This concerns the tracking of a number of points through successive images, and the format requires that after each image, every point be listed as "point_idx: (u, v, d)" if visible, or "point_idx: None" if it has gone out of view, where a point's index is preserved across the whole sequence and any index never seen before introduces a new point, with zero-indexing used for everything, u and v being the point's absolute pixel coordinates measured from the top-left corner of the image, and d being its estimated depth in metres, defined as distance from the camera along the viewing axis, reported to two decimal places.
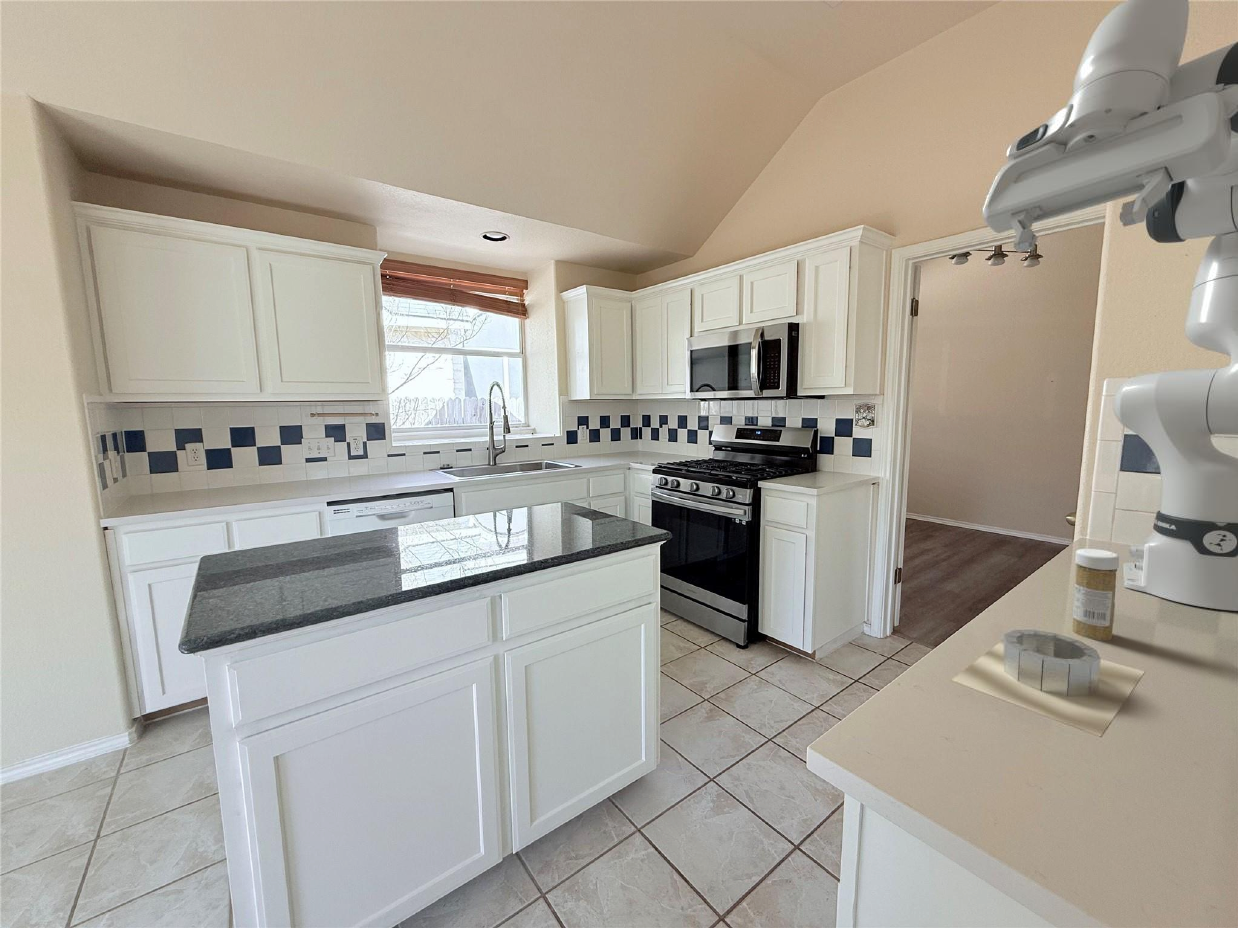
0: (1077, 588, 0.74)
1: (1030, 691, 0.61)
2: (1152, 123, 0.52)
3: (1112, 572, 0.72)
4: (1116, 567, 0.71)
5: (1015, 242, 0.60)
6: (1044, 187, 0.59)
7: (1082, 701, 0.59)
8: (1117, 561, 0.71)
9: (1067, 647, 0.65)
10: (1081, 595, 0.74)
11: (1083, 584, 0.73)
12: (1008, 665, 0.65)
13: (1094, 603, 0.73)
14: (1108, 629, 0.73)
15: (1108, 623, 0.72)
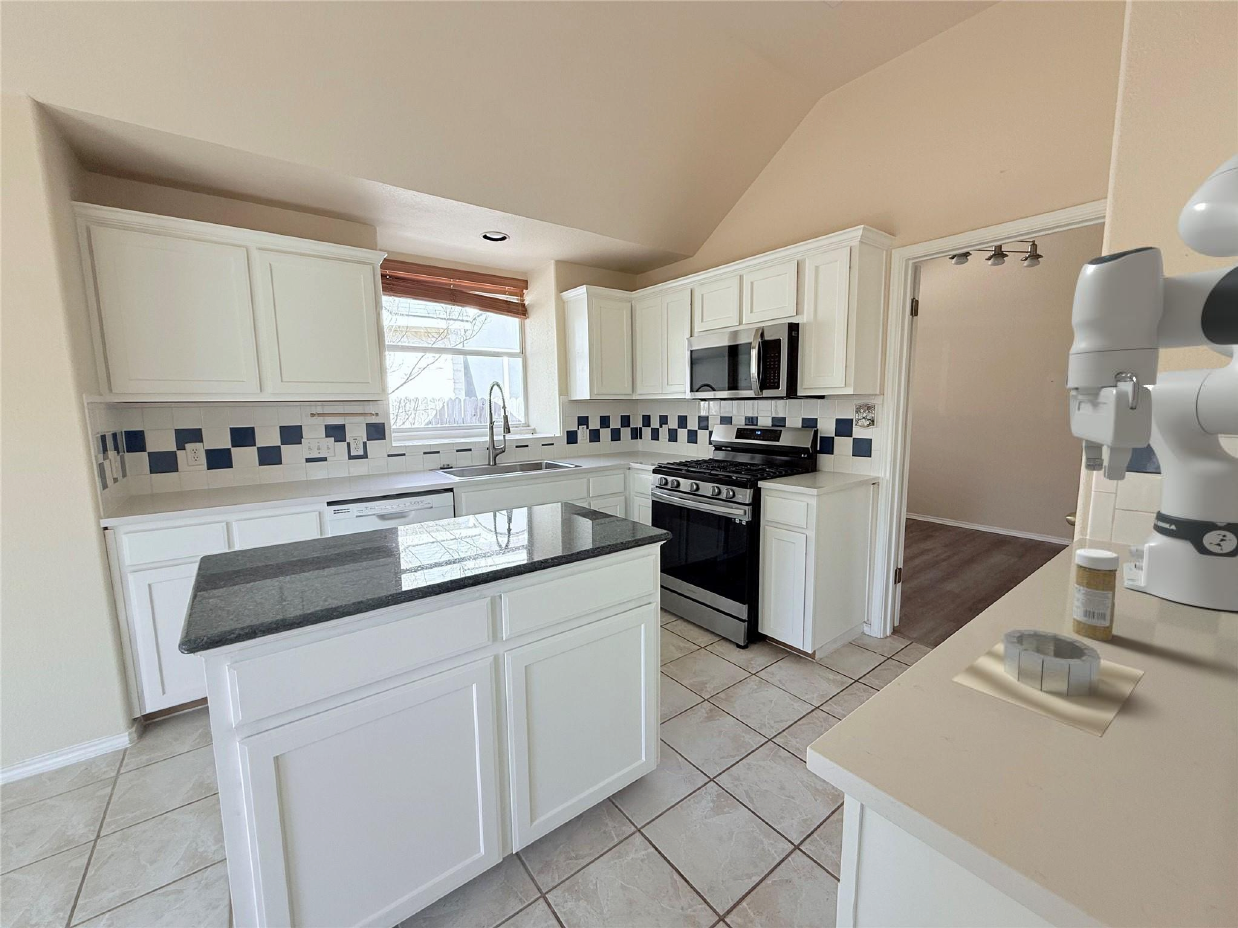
0: (1077, 588, 0.74)
1: (1030, 691, 0.61)
2: (1101, 401, 0.67)
3: (1112, 572, 0.72)
4: (1116, 567, 0.71)
5: None
6: (1082, 427, 0.74)
7: (1082, 701, 0.59)
8: (1117, 561, 0.71)
9: (1067, 647, 0.65)
10: (1081, 595, 0.74)
11: (1083, 584, 0.73)
12: (1008, 665, 0.65)
13: (1094, 603, 0.73)
14: (1108, 629, 0.73)
15: (1108, 623, 0.72)
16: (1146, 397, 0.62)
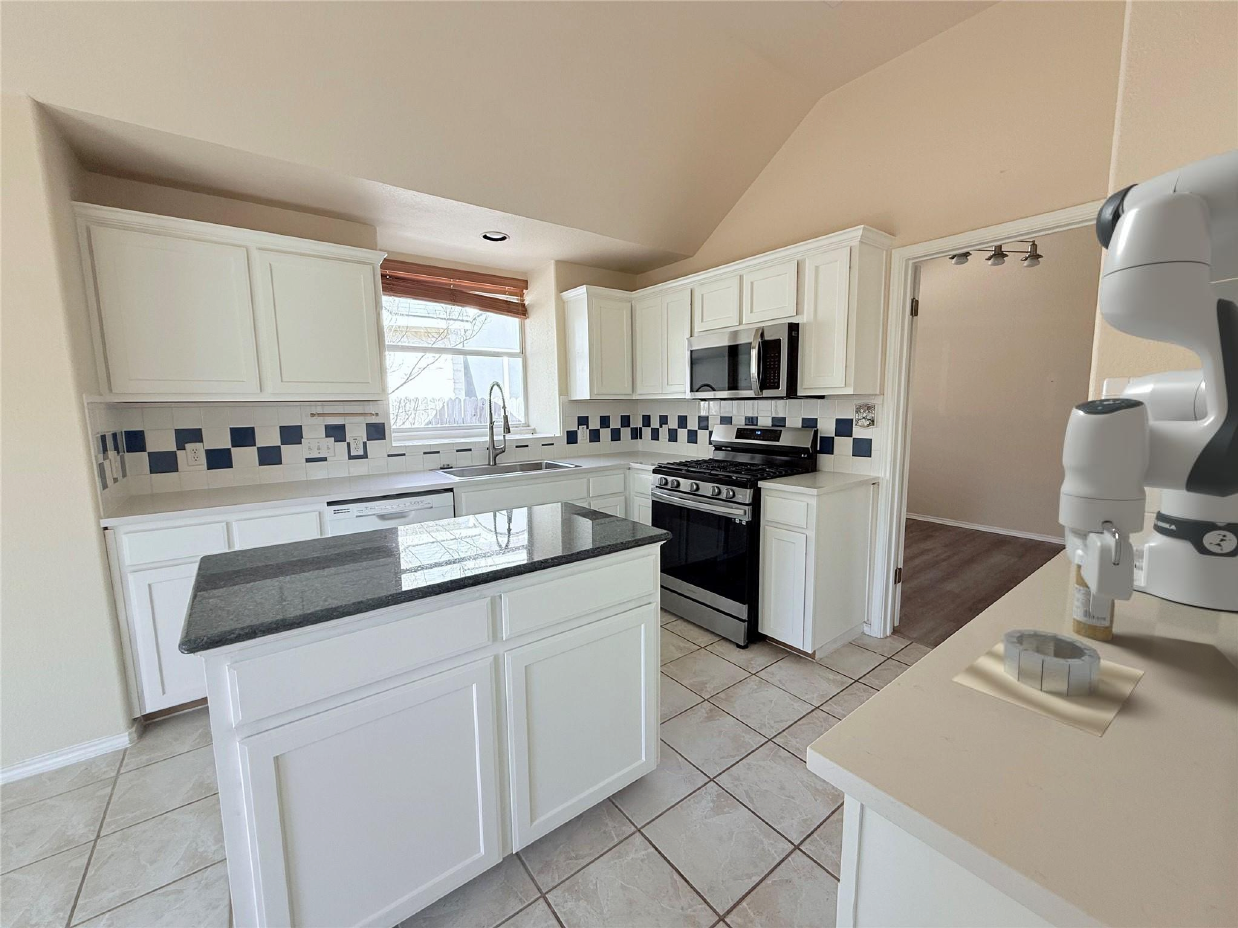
0: (1077, 588, 0.74)
1: (1030, 691, 0.61)
2: (1089, 546, 0.70)
3: None
4: None
5: None
6: (1074, 556, 0.78)
7: (1082, 701, 0.59)
8: None
9: (1067, 647, 0.65)
10: (1081, 595, 0.74)
11: (1083, 584, 0.73)
12: (1008, 665, 0.65)
13: None
14: (1108, 629, 0.73)
15: (1108, 623, 0.72)
16: (1128, 554, 0.65)
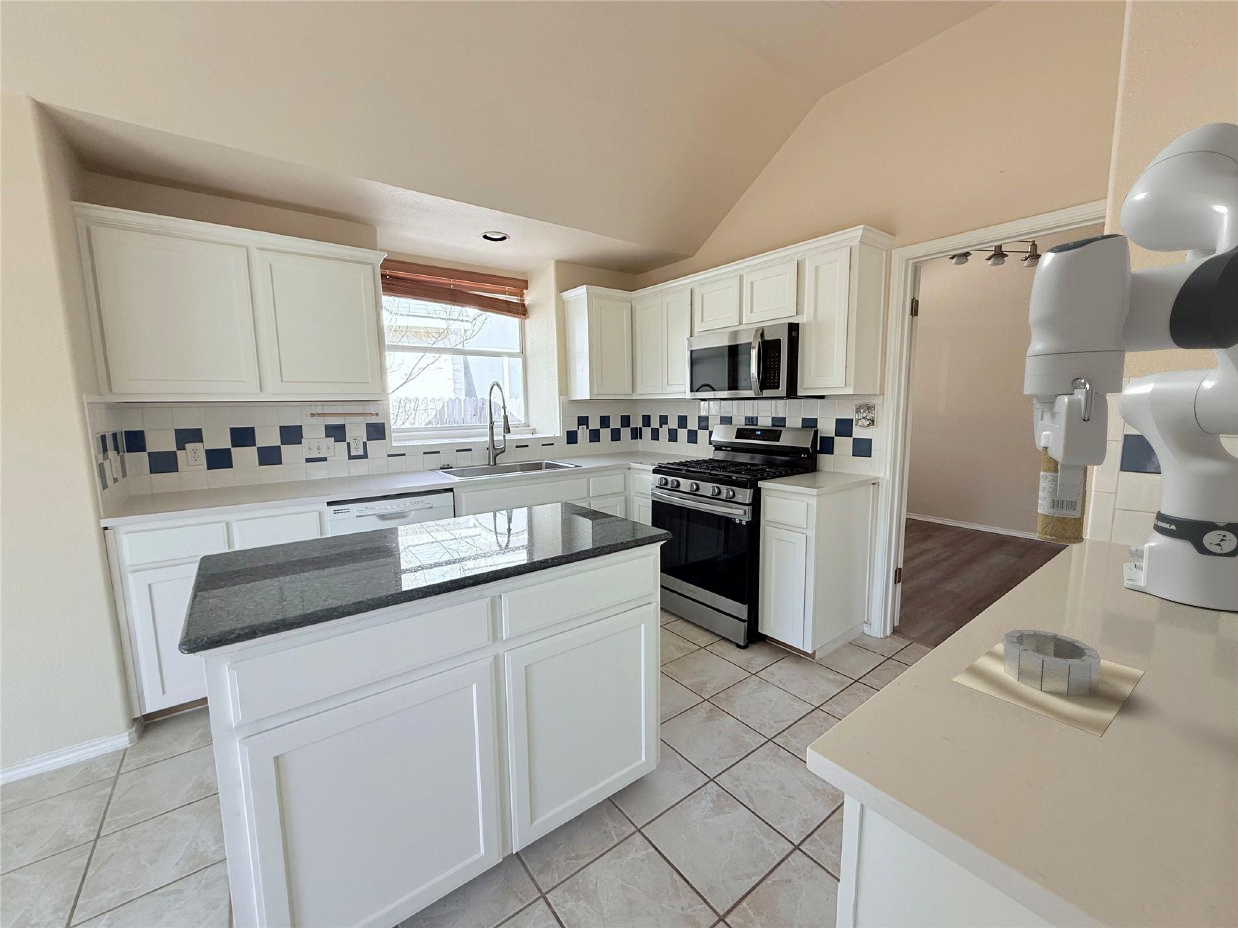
0: (1043, 476, 0.63)
1: (1030, 691, 0.61)
2: (1056, 410, 0.58)
3: None
4: None
5: None
6: None
7: (1082, 701, 0.59)
8: None
9: (1067, 647, 0.65)
10: (1048, 482, 0.62)
11: (1051, 468, 0.62)
12: (1008, 665, 0.65)
13: None
14: (1079, 522, 0.61)
15: (1079, 514, 0.61)
16: (1101, 407, 0.53)
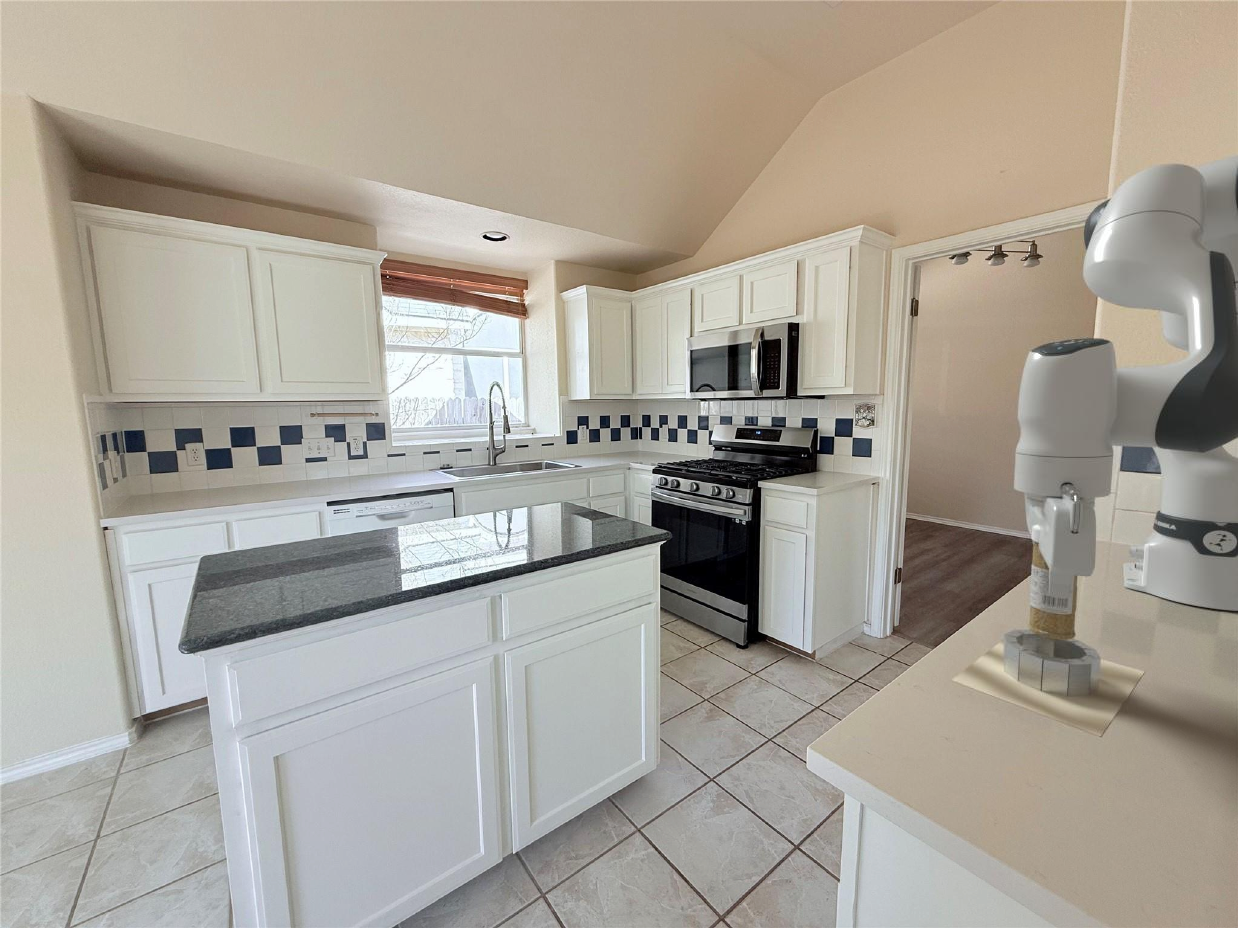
0: (1034, 570, 0.63)
1: (1030, 691, 0.61)
2: (1046, 513, 0.59)
3: None
4: None
5: None
6: None
7: (1082, 701, 0.59)
8: None
9: (1067, 647, 0.65)
10: (1040, 578, 0.62)
11: (1041, 564, 0.62)
12: (1008, 665, 0.65)
13: None
14: (1070, 618, 0.61)
15: (1070, 611, 0.61)
16: (1089, 520, 0.53)
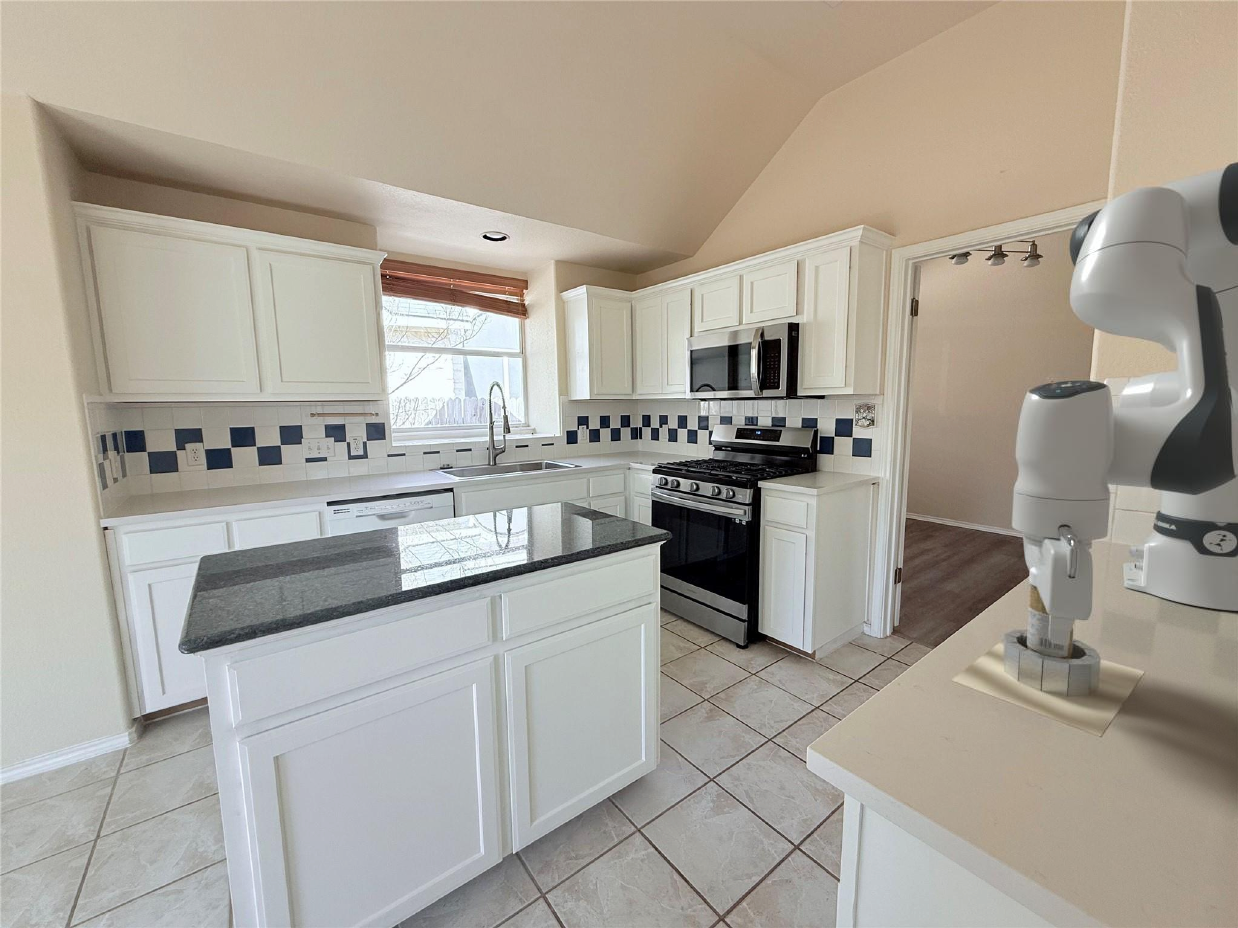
0: (1032, 612, 0.64)
1: (1030, 691, 0.61)
2: (1043, 554, 0.59)
3: None
4: None
5: None
6: (1031, 565, 0.67)
7: (1082, 701, 0.59)
8: None
9: None
10: (1036, 620, 0.64)
11: (1038, 608, 0.63)
12: (1008, 665, 0.65)
13: None
14: None
15: (1066, 653, 0.63)
16: (1086, 565, 0.54)
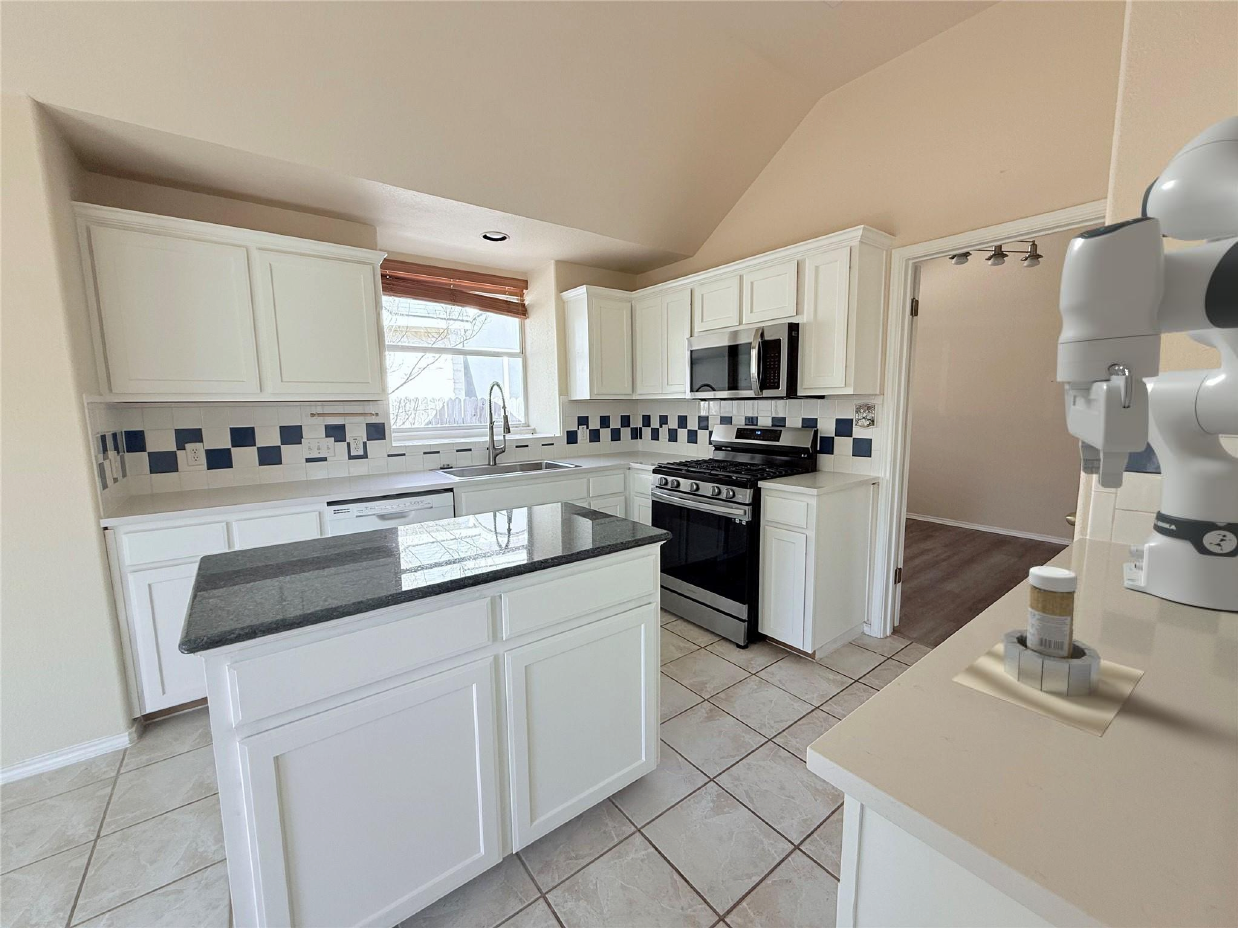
0: (1031, 612, 0.64)
1: (1030, 691, 0.61)
2: (1093, 397, 0.58)
3: (1070, 594, 0.62)
4: (1074, 588, 0.62)
5: (1081, 469, 0.67)
6: (1077, 425, 0.66)
7: (1082, 701, 0.59)
8: (1075, 581, 0.62)
9: None
10: (1036, 620, 0.64)
11: (1038, 608, 0.63)
12: (1008, 665, 0.65)
13: (1051, 630, 0.63)
14: None
15: (1066, 653, 0.63)
16: (1141, 393, 0.53)
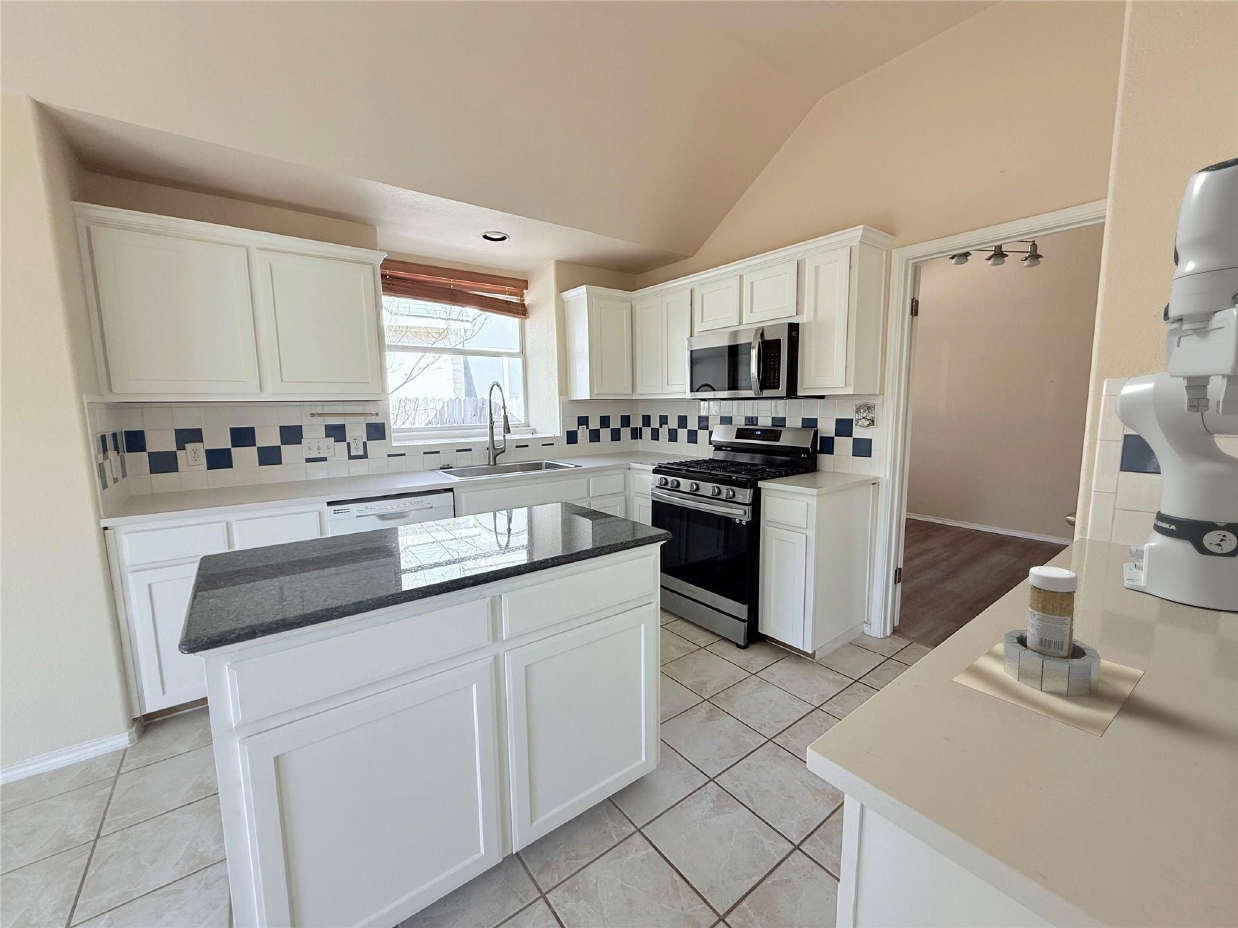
0: (1031, 612, 0.64)
1: (1030, 691, 0.61)
2: (1216, 326, 0.59)
3: (1070, 594, 0.62)
4: (1074, 588, 0.62)
5: (1185, 409, 0.68)
6: (1185, 363, 0.67)
7: (1082, 701, 0.59)
8: (1075, 581, 0.62)
9: None
10: (1036, 620, 0.64)
11: (1038, 608, 0.63)
12: (1008, 665, 0.65)
13: (1051, 630, 0.63)
14: None
15: (1066, 653, 0.63)
16: None
